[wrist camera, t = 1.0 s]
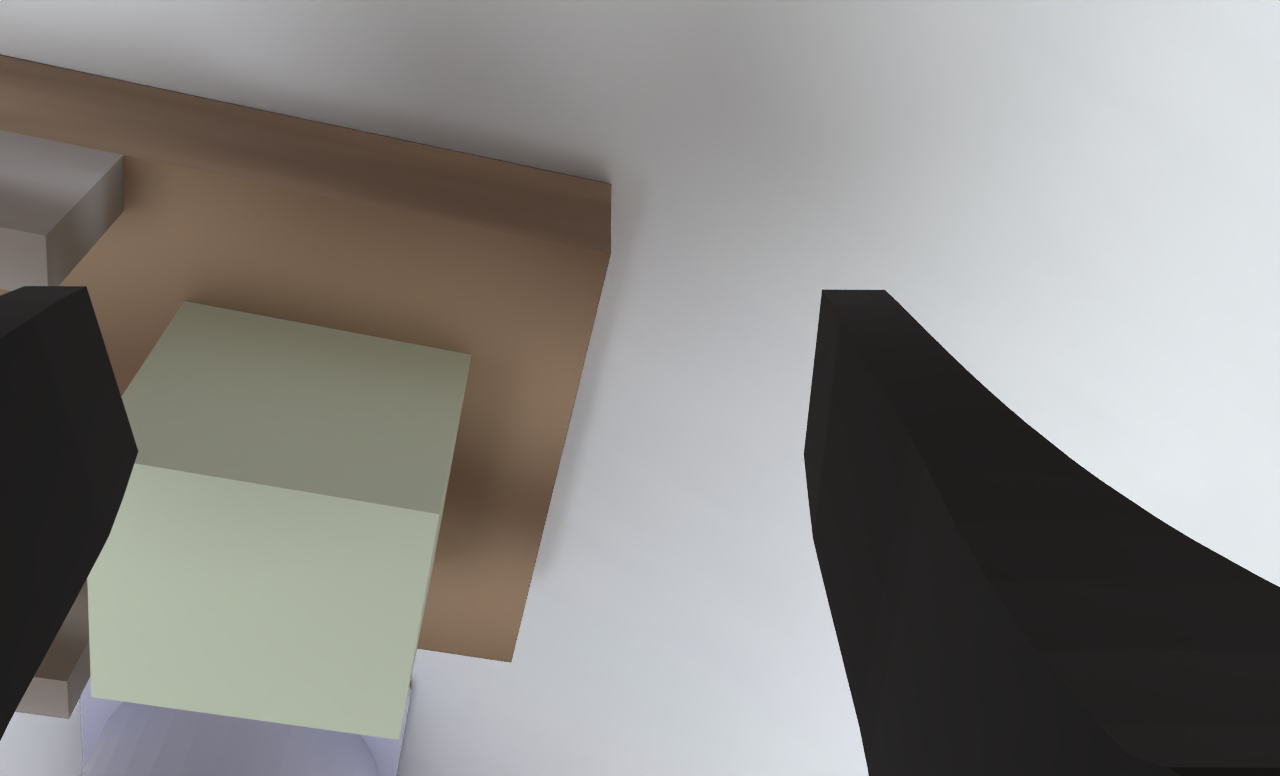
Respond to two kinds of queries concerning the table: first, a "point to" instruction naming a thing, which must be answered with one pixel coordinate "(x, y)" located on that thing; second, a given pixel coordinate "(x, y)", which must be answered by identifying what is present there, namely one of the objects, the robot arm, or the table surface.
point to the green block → (276, 522)
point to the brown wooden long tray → (319, 289)
